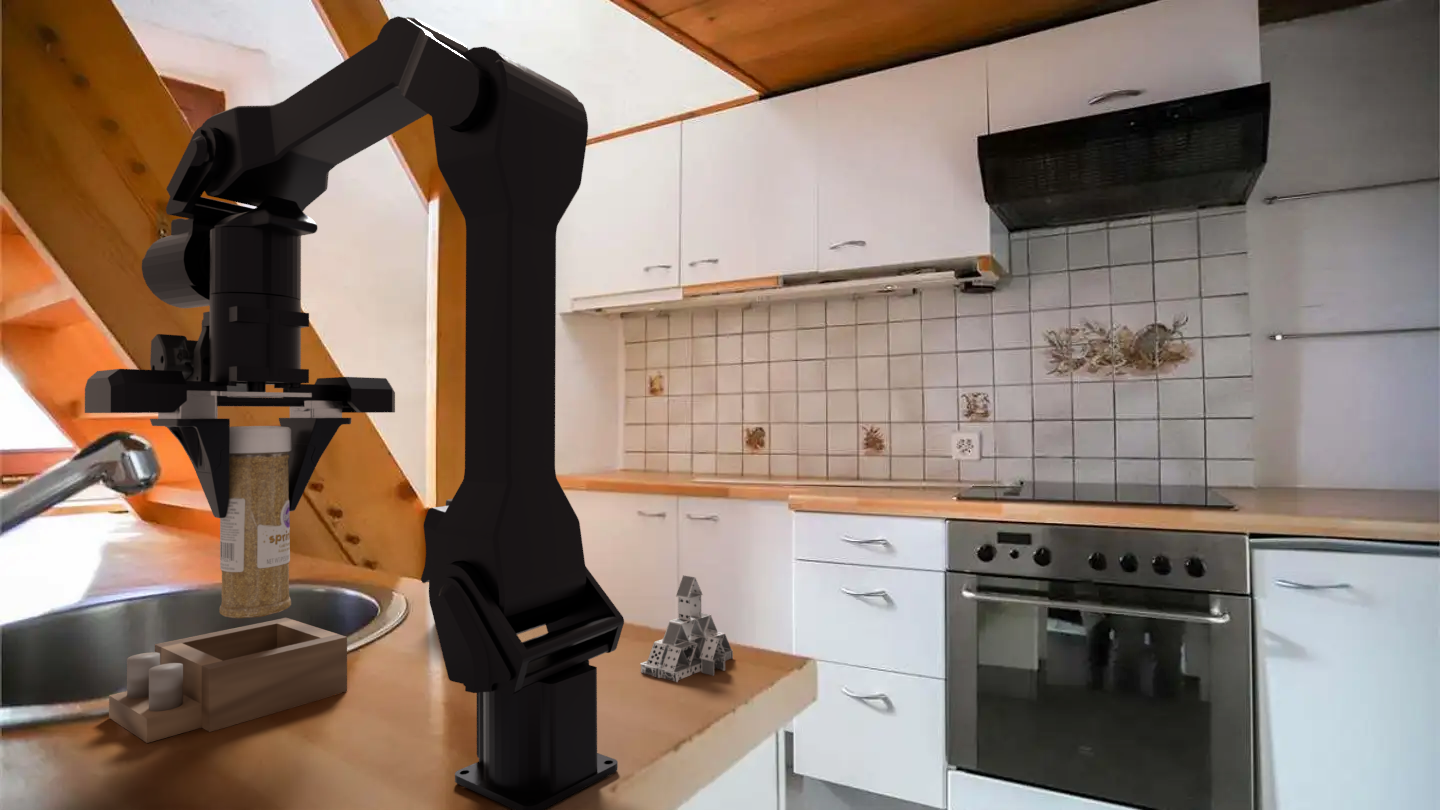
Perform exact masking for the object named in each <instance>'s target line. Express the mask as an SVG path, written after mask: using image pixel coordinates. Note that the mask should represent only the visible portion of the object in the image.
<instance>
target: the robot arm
mask: <svg viewBox="0 0 1440 810" xmlns="http://www.w3.org/2000/svg"><path fill="white" fill-rule="evenodd" d="M426 115H429V116H431V119H432V128H433V129H432V130H433V136H434V144H435V145H434V146H435V153H436V162H437V166H438V170H439V172H440V173H441V175H442V177H443V179H444V181H445V183H446V184H447V186H448V189H449V191H450V192H451V194H452V196H453V198H454V201H455V202H456V204H457V207H458V208H459V210H460V212H461V214H462V215H463V218H464V221H465V352H464V353H465V354H464V355H465V356H464V357H465V360H464V361H465V366H464V372H465V375H464V378H465V379H464V380H465V382H464V383H465V384H464V385H465V387H464V388H465V389H464V391H465V393H464V397H465V398H464V399H465V400H464V401H465V402H464V405H465V406H464V474H463V479H462V481H461V484H460V485H459V487H458V489H457V491H456V492H455V494H454V496H453V497H452V498H451V499H452V501H451V503H450V505H449V506H446V505H443V506H433V507H430V508H429V509H428V510H427V512H426V515H425V518H424V522H423V533H424V543H425V560H424V568H423V571H422V574H421V578H420V581H421V583H422V584H426V583H428V598H429V599H428V600H429V607H430V609H431V614H432V617H433V621H434V624H435V629H436V632H437V638H438V640H439V641H438V642H439V645H440V648H441V649H440V650H441V653H442V658H443V660H444V661H443V662H444V665H445V670H446V674H447V678H448V679H449V681H450V682H453V683H456V684H457V683H458V684H461V685H463V686H464V687H465V690H464V691H465V692H467V693H472V694H476V756H477V758H478V761H477V762H474V763H473V764H470V765H467V766H465V767H463V768H461V769H458V770H457V771H455V773H454V783H456V784H457V785H460V786H461V787H464V788H466V789H468V790H470V791H473V792H475V793H477V794H479V795H481V796H484V797H486V798H488V799H490V800H492V801H495V802H497V803H499V804H501V805H503V806H505V807H508V808H510V809H512V810H545V809H547V808H549V807H550V806H552V805H554V804H556V803H559V802H560V801H562V800H565V799H566V798H567V797H570V796H572V795H574V794H575V793H577V792H580V791H581V790H584V789H585V788H587V787H589V786H591V785H593V784H595V783H597V782H599V781H601V780H602V779H604V778H606V777H608V776H610V775H612V774H614V773H616V772H617V771H618V767H619V764H618V760H617V759H615V758H612V757H610V756H608V755H605V754H601V753H599V752H598V681H597V680H598V675H597V674H598V670H597V669H598V668H597V666H596V665H595V666H594V665H591V664H590V660H592V659H594V658H596V657H599V656H601V655H604V654H606V653H607V654H609V653H612V652H614V651H616V650H617V648H618V644H619V642H620V637H621V633H622V631H623V627H624V624H625V619H624V616H623V614H622V613H621V611H620V610H619V609H618V608H617V607H616V605H615V604H614V603H613V601H612V600H611V598H610V597H609V596H608V594H607V593H606V592H605V590H604V589H603V588H602V586H601V585H600V584H599V582H598V581H597V580H596V578H595V577H594V575H593V574H592V573H591V572H590V570H589V569H588V568H587V566H586V562H585V553H584V547H583V538H582V532H581V531H582V530H581V523H580V519H579V517H578V516H577V514H576V511H575V510H574V508H573V506H572V504H571V503H570V500H569V498H568V497H567V495H566V492H565V491H564V489H563V487H562V486H561V484H560V482H559V480H558V478H557V473H556V343H557V342H556V338H557V337H556V334H557V333H556V328H557V325H556V319H557V316H556V315H557V311H556V310H557V309H556V308H557V307H556V306H557V305H556V302H557V299H556V298H557V292H556V291H557V288H556V286H557V281H556V279H557V278H556V277H557V238H556V237H557V229H558V225H559V223H560V222H561V220H562V218H563V217H564V215H565V213H566V211H567V210H568V208H569V206H570V205H571V204H572V201H573V200H574V198H575V196H576V195H577V193H578V191H579V190H580V188H581V184H582V179H583V172H584V164H585V157H586V149H587V141H588V134H589V133H588V132H589V121H588V115H587V110H586V108H585V105H584V103H582V102H581V101H579V98H577V97H576V95H575V94H574V93H573V92H572V91H570V90H569V89H567V88H566V87H564V86H562V85H560V84H558V83H556V82H554V81H553V80H551V79H549V78H547V77H545V76H544V75H541V74H540V73H538V72H536V71H534V70H532V69H531V68H528V67H527V66H525V65H523V64H521V63H519V62H517V61H515V60H514V59H512V58H510V57H508V56H506V55H505V54H503V53H501V52H499V51H497V50H495V49H492V48H489V47H488V46H477V47H476V46H475V47H471V48H468V46H467V45H465V44H464V43H463V42H461V41H460V40H458V39H456V38H454V37H452V36H450V35H449V34H446V33H444V32H443V31H440V30H438V29H437V28H434V27H432V26H431V25H429V24H427V23H425V22H423V21H421V20H419V19H418V18H415V17H409V16H407V17H402V16H395V17H392V18H390V19H389V20H388V21H386V23H385V24H383V26H382V28H381V29H380V32H379V33H378V35H377V39H375V40H374V41H372V42H371V43H369V44H368V45H366V46H365V47H363V48H362V49H360V50H358V51H357V52H356V53H354V54H353V55H352V56H350V57H349V58H347V59H345V60H344V61H342V62H341V63H339V64H338V65H336V66H334V67H333V68H331V69H330V70H328V71H327V72H325V73H324V74H322V75H321V76H319V77H318V78H316V79H315V80H313V81H311V82H310V83H309V84H307V85H306V86H304V87H302V88H301V89H300V90H298V91H297V92H295V93H293V94H292V95H290V96H289V97H288V98H285V100H283V101H280V102H277V103H274V104H273V105H272V104H271V105H238V106H235V107H231V108H230V109H229V108H228V109H226V110H224V111H221V112H219V113H216V114H213V115H211V116H210V117H208V118H207V119H206V120H205V121H204V122H203V123H202V125H201V126H199V127H198V128H197V129H196V130H195V131H194V132H193V134H192V136H191V139H190V141H189V143H188V145H187V146H186V149H185V150H184V153H183V154H182V157H181V159H180V161H179V163H178V165H177V167H176V169H175V171H174V173H173V174H172V177H171V179H170V180H169V183H168V184H167V186H166V192H167V193H168V195H169V198H168V202H167V205H166V208H165V211H166V215H169V216H174V217H179V218H176V219H173V220H172V219H171V220H172V221H171V222H170V224H171V227H170V229H171V230H170V235H167V236H165V237H162V238H159V239H158V240H156V241H154V242H152V243H151V245H150V246H149V247H148V249H147V251H146V252H145V254H144V256H143V258H142V260H141V272H142V277H143V279H144V282H145V284H146V286H147V287H148V289H149V290H150V291H151V293H152V294H153V295H154V296H155V297H156V298H158V300H160V301H162V302H164V303H166V304H167V305H169V306H173V307H176V308H178V309H179V308H180V309H193V308H202V307H209V311H205V312H203V313H202V315H203V318H202V320H201V330H200V334H199V336H198V339H197V340H193V339H192V340H190V339H188V337H187V336H185V335H178V334H166V333H158V334H156V335H155V336H154V337H153V338H152V339H151V341H150V342H151V343H150V359H149V360H150V361H149V362H150V369H137V368H136V369H133V368H116V369H105V370H97V371H96V372H95V373H93V374H92V375H91V376H90V377H89V378H88V379H86V380H87V381H86V383H85V387H84V413H85V414H142V413H143V414H145V413H147V414H149V413H150V414H153V413H154V414H157V418H150V419H149V420H150V424H151V426H153V427H165V428H167V429H168V431H170V433H171V434H172V435H173V436H174V437H175V438H176V440H177V441H178V442H179V443H180V445H181V447H182V448H183V449H184V451H185V454H186V456H187V457H188V458H189V460H190V462H191V464H192V466H193V469H194V471H195V474H196V476H197V479H198V481H199V483H200V487H201V488H202V491H203V493H204V496H205V498H206V500H207V501H206V502H207V503H208V506H209V508H210V510H211V513H212V515H213V517H214V518H217V519H220V518H225V517H226V514H227V507H228V501H229V446H230V427H231V426H230V423H231V421H230V419H231V418H218V417H219V416H218V415H219V414H218V410H219V409H218V407H248V408H249V407H259V408H260V407H262V408H263V407H267V408H268V407H269V408H270V407H273V408H274V407H276V408H277V407H278V408H279V407H281V408H283V407H285V408H286V407H287V408H289V417H278V422H279V424H280V425H279V426H281V427H289V428H290V429H291V451H290V452H288V455H289V459H288V467H289V468H288V474H289V476H288V479H289V512H294V511H295V510H296V509H297V506H298V505H299V502H300V501H301V499H302V497H303V494H304V493H305V491H306V488H307V486H308V484H309V482H310V479H311V478H312V475H313V473H314V471H315V469H316V467H317V465H318V463H319V461H320V459H321V457H323V454H324V453H325V451H326V449H327V448H328V446H329V444H330V443H331V441H332V440H333V438H334V436H335V435H336V434H337V432H338V430H339V429H340V427H341V426H342V425H351V424H352V417H343V414H344V413H347V414H349V413H353V414H355V413H357V414H359V413H361V414H363V413H366V414H367V413H370V414H371V413H373V414H375V413H395V412H396V392H395V390H394V388H393V387H392V385H391V383H390V382H389V380H388V379H387V378H385V377H360V376H359V377H358V376H338V377H321V378H316V380H315V382H314V384H312V383H311V384H310V369H309V368H302V365H301V362H302V361H301V360H302V358H301V357H302V355H301V354H302V353H301V352H302V351H301V349H302V344H301V343H302V336H301V335H302V334H301V333H302V331H301V330H302V329H303V328H310V312H303V311H302V301H301V300H302V236H306V235H312V234H315V233H317V231H318V224H317V223H316V222H315V221H314V220H313V219H312V218H311V217H310V216H308V215H307V214H306V213H305V212H304V211H305V210H306V208H308V207H309V206H310V205H311V204H312V203H313V202H314V201H316V199H318V198H319V197H320V196H321V195H322V194H324V193H325V192H326V191H327V190H328V186H329V185H328V184H329V174H330V171H332V170H333V169H334V168H335V167H336V166H338V165H339V164H341V163H343V162H344V161H346V160H349V159H350V158H351V157H353V156H356V155H357V154H359V153H361V152H363V151H365V150H366V149H367V148H369V147H371V146H374V145H375V144H376V143H378V142H380V141H382V140H384V139H386V138H388V137H389V136H392V135H393V134H395V133H396V132H399V131H400V130H402V129H404V128H405V127H407V126H409V125H411V124H413V123H414V122H416V121H418V120H419V119H422V118H423V117H425V116H426ZM203 193H205V195H206V196H209V197H212V198H216V199H212V198H209V197H208V198H207V197H204V196H203ZM217 199H221V200H222V201H221V200H217ZM223 200H225V201H223ZM226 201H230V202H226ZM231 202H235V204H234V203H231ZM236 203H238V204H236ZM239 204H240V205H239ZM242 204H244V205H247V206H244V205H242ZM248 206H249V207H248ZM250 206H252V207H253V208H252V207H250ZM254 207H255V208H254ZM266 386H273V388H274V389H282V392H275V391H274V392H273V391H272V392H270V391H268V392H267V391H266ZM543 626H545V627H546V630H547V633H543V634H541V635H538V636H536V637H532V638H530V639H527V640H523V641H522V640H521V638H520V637H519V635H520V634H523V633H526V632H529V631H533V630H535V629H537V628H541V627H543Z"/></svg>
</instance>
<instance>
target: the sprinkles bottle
mask: <svg viewBox="0 0 1440 810" xmlns="http://www.w3.org/2000/svg"><path fill="white" fill-rule="evenodd" d="M290 451H291V429H290V428H289V427H281V425H251V426H250V425H247V426H244V425H241V426H238V425H237V426H233V425H232V426H230V446H229V501H228V507H227V514H226V517H225V518H219V520H220V521H219V524H220V525H219V526H220V527H219V531H220V532H219V536H220V537H219V539H220V540H219V545H220V546H219V547H220V549H219V551H220V552H219V554H220V555H219V557H220V558H219V559H220V560H219V562H220V563H219V567H220V570H221V594H220V595H221V604H220V606H219V610H218V611H219V614H220V615H222V617H226V618H230V619H248V618H249V619H252V618H253V619H255V618H261V617H266V616H270V615H275V614H277V613H280V612H282V611H285V610H287V609H289V608H290V607H291V606H292V599H291V597H290V580H289V579H290V565H289V563H290V562H291V551H290V550H291V548H290V546H291V545H290V544H291V541H290V540H291V536H290V532H291V529H290V528H291V526H290V521H291V519H290V511H289V479H288V476H289V474H288V468H289V467H288V459H289V455H288V452H290Z"/></svg>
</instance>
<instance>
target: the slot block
mask: <svg viewBox="0 0 1440 810" xmlns="http://www.w3.org/2000/svg"><path fill="white" fill-rule="evenodd" d="M346 691H347V692H348V636H345V635H342V634H339V633H336V632H333V631H330V630H326V629H323V628H320V627H317V626H314V625H310V624H308V623H305V622H301V621H298V620H295V619H292V618H288V617H282V618H278V619H273V620H269V621H264V622H258V623H253V624H249V625H248V624H247V625H243V626H239V627H235V628H234V627H233V628H229V629H223V630H218V631H214V632H209V633H204V634H199V635H194V636H190V637H184V638H180V639H174V640H169V641H165V642H158V643H156V644H154V651H153V652H144V653H138V654H133V655H131V656H129V657H127V658H126V691H121V692H118V693H113V694H109V696H108V719H110V720H111V721H114V722H115V723H116V724H117V725H119V726H121V728H124V729H126V730H127V731H128V732H129V733H131V734H132V735H134V736H136V737H137V738H138V739H140V740H141V741H143V742H144V743H146V744H148V743H152V742H156V741H159V740H163V739H166V738H170V737H174V736H177V735H179V734H180V735H181V734H183V733H188V732H190V731H195V730H198V729H204V731H207V732H208V733H211V732H214V731H215V732H216V731H218V730H221V729H225V728H228V727H231V726H235V725H238V724H242V723H245V722H248V721H251V720H255V719H258V718H262V717H266V716H269V715H272V714H277V713H280V712H283V711H286V710H290V709H294V708H298V707H299V706H300V707H301V706H303V705H306V704H310V703H313V702H316V701H319V700H322V699H326V698H330V697H333V696H332V695H334V696H336V695H335V694H337V695H340V694H343V693H342V692H344V693H346ZM339 693H340V694H339Z"/></svg>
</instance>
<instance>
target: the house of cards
mask: <svg viewBox="0 0 1440 810" xmlns="http://www.w3.org/2000/svg"><path fill="white" fill-rule="evenodd" d="M702 596H704V594H703V593H702V590H701V587H700V585H699V583H698V580H697V577H695V576H690V575H682V578H681V580H680V584H679V586H678V589H677V592H676V595H675V597H676V598H678V604H677V605H678V606H677V607H678V609H677V610H678V612H677V613H678V617H676V618H674V619H671V620H668V624H667V627H666V631H665V633H664V636H663V637H662V639H659V640H656V641H654V642H653V644H652V648H651V650H650V653H649V656H648V658H647V660H646V661H643V662H640V663H639V664H640V673H642V674H644V675H648V676H652V677H655V678H656V679H660V678H662V679H665V680H668V681H673V682H676V683H678V682H679V680H682V679H684V678H687V677H689V676H692V675H694V674H696V673H702V674H705V675H710V676H713V677H714V676H715V669H716V670H720V671H722V672H723V671H724V672H725V671H726V661H728V660H731V659H732V660H733V659H734V653H733V651H734V650H733V649H732V648H731V645H730V643H729V640H728V638H727V635H726V633H725V632H721V631H718V629H717V626H716V624H715V622H714V619H713V617H712V614H711V613H710V614H709V613H704V612H702Z"/></svg>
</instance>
